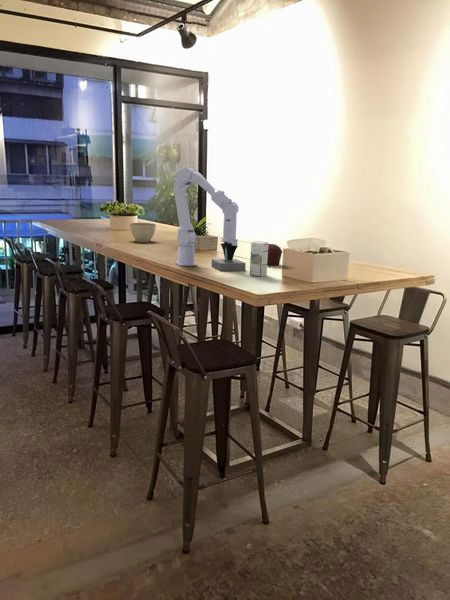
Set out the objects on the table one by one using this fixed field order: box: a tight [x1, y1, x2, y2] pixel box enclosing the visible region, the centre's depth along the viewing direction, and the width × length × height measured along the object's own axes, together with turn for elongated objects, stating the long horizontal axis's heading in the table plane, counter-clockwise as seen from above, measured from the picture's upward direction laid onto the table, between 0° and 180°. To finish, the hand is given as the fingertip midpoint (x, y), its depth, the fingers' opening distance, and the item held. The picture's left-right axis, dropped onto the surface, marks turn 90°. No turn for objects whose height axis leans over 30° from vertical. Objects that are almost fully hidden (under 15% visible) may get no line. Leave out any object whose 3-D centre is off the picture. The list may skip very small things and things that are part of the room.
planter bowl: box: [129, 222, 157, 243], centre depth 324 cm, size 16×16×11 cm
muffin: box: [267, 243, 283, 267], centre depth 253 cm, size 12×11×10 cm
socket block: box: [210, 258, 246, 272], centre depth 238 cm, size 12×12×4 cm
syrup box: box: [249, 240, 269, 278], centre depth 223 cm, size 6×6×14 cm
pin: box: [224, 247, 232, 262], centre depth 237 cm, size 3×3×8 cm
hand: (228, 259), depth 237 cm, fingers closed on pin, 3 cm apart
